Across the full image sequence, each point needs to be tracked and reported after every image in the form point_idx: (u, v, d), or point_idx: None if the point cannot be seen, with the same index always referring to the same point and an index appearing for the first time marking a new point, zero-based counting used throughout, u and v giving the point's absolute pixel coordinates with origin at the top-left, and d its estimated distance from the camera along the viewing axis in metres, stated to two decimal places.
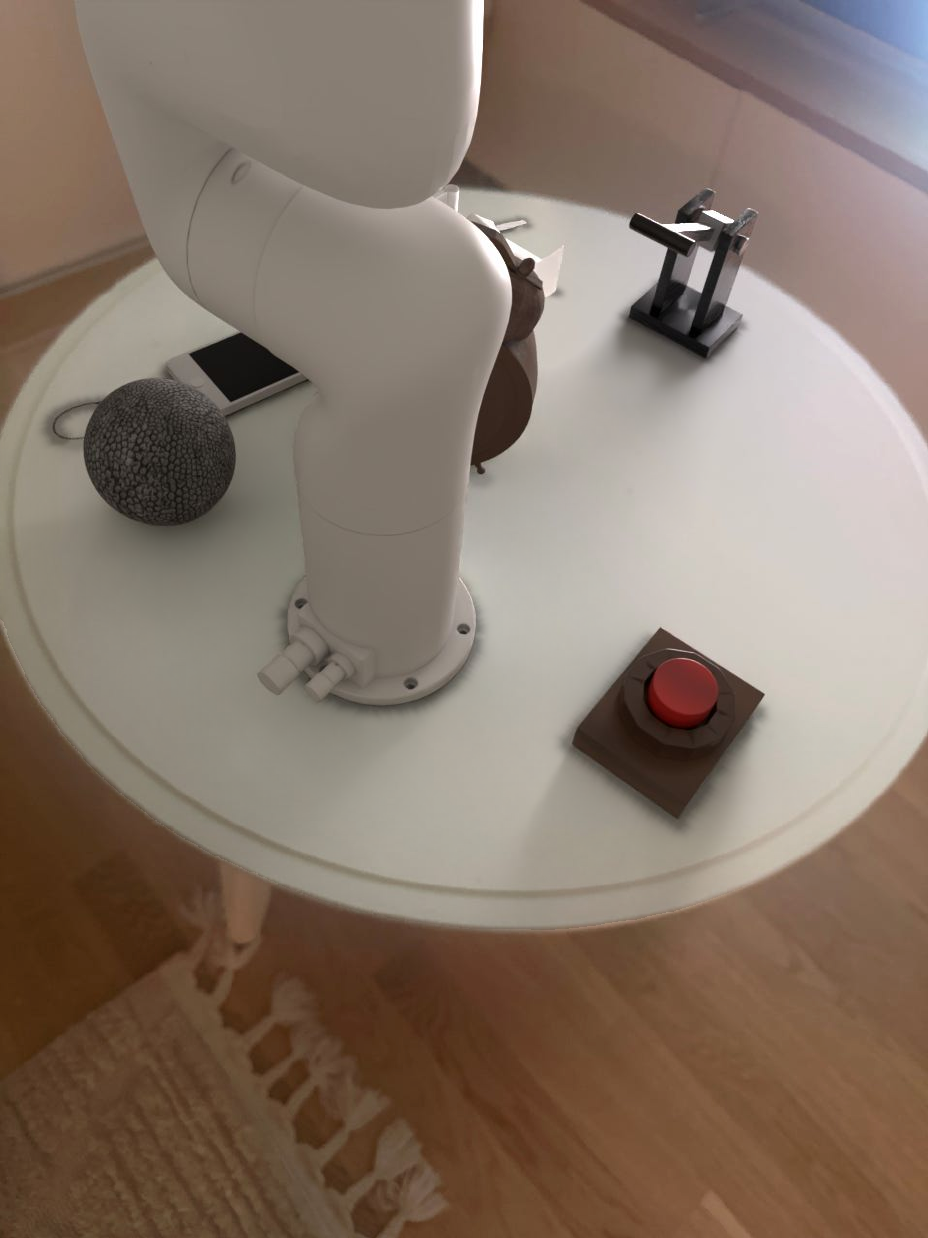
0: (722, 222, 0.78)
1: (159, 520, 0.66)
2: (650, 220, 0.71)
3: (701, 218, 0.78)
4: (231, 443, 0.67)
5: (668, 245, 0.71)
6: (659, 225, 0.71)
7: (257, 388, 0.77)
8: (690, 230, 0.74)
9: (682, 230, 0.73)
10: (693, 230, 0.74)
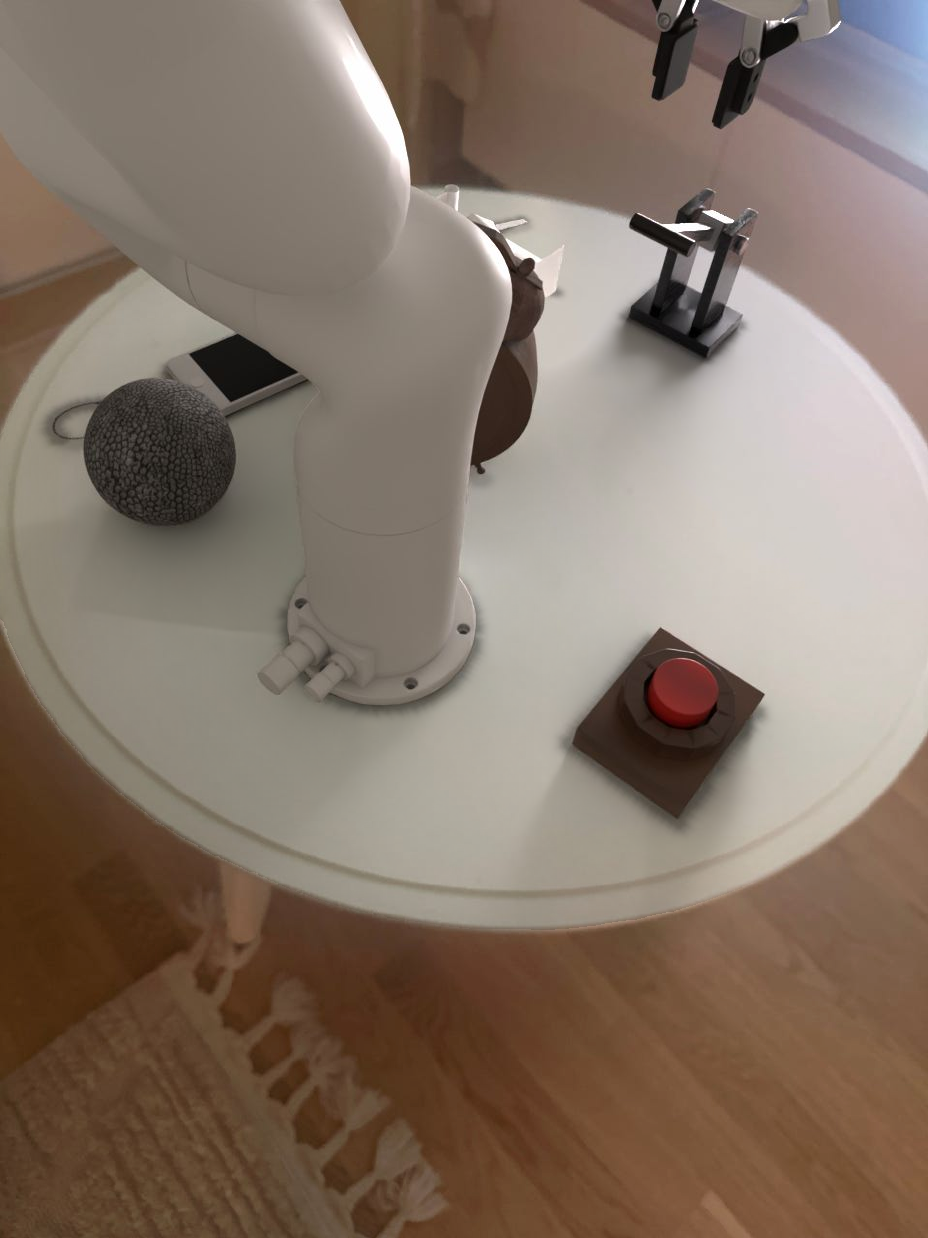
0: (722, 222, 0.78)
1: (159, 520, 0.66)
2: (650, 220, 0.71)
3: (701, 218, 0.78)
4: (231, 443, 0.67)
5: (668, 245, 0.71)
6: (659, 225, 0.71)
7: (257, 388, 0.77)
8: (690, 230, 0.74)
9: (682, 230, 0.73)
10: (693, 230, 0.74)
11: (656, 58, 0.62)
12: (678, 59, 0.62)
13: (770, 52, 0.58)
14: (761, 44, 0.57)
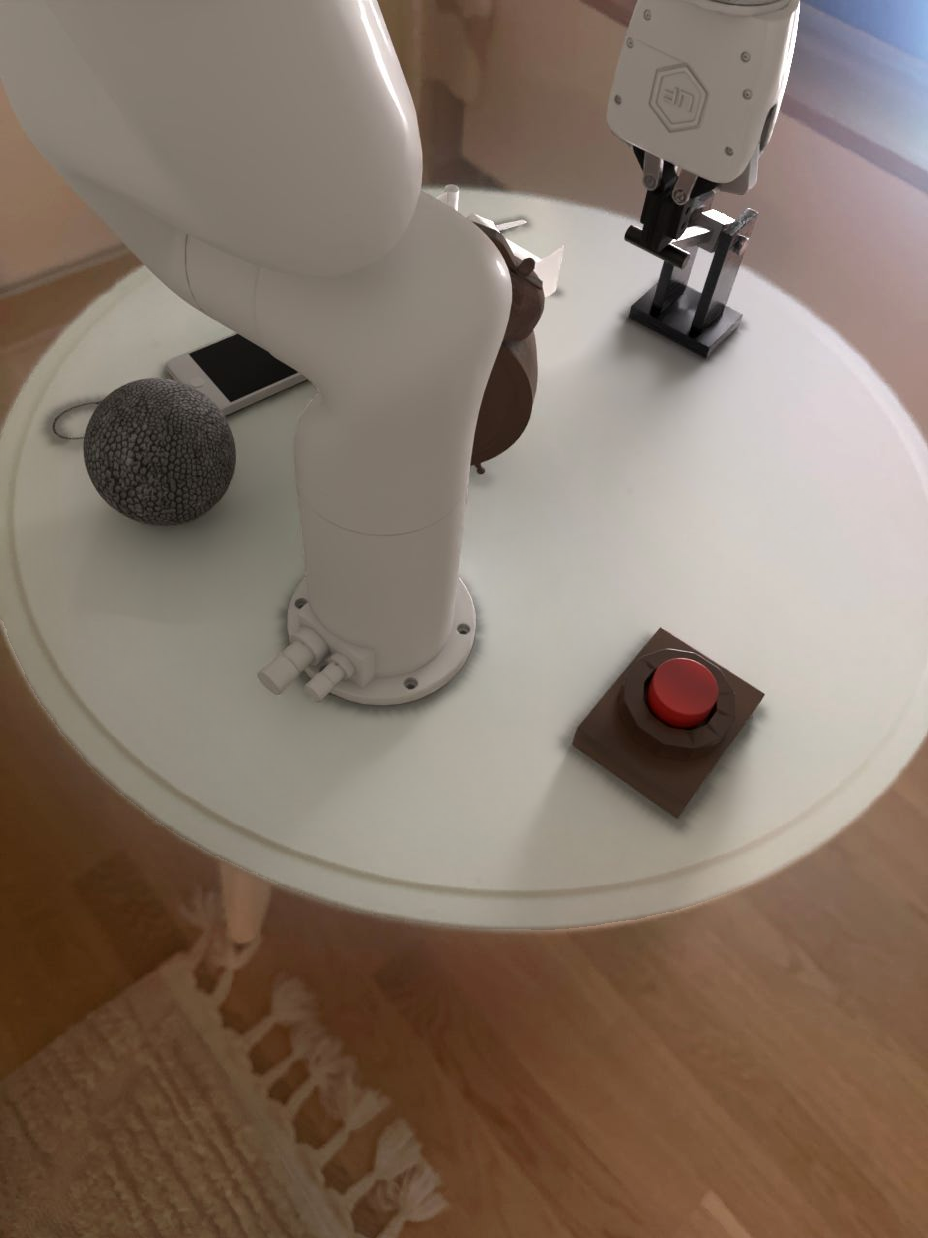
0: (721, 223, 0.78)
1: (159, 520, 0.66)
2: None
3: (700, 219, 0.78)
4: (231, 443, 0.67)
5: (663, 257, 0.71)
6: None
7: (257, 388, 0.77)
8: (687, 237, 0.74)
9: (678, 239, 0.73)
10: (690, 237, 0.75)
11: (643, 210, 0.69)
12: None
13: (697, 193, 0.66)
14: (691, 191, 0.66)
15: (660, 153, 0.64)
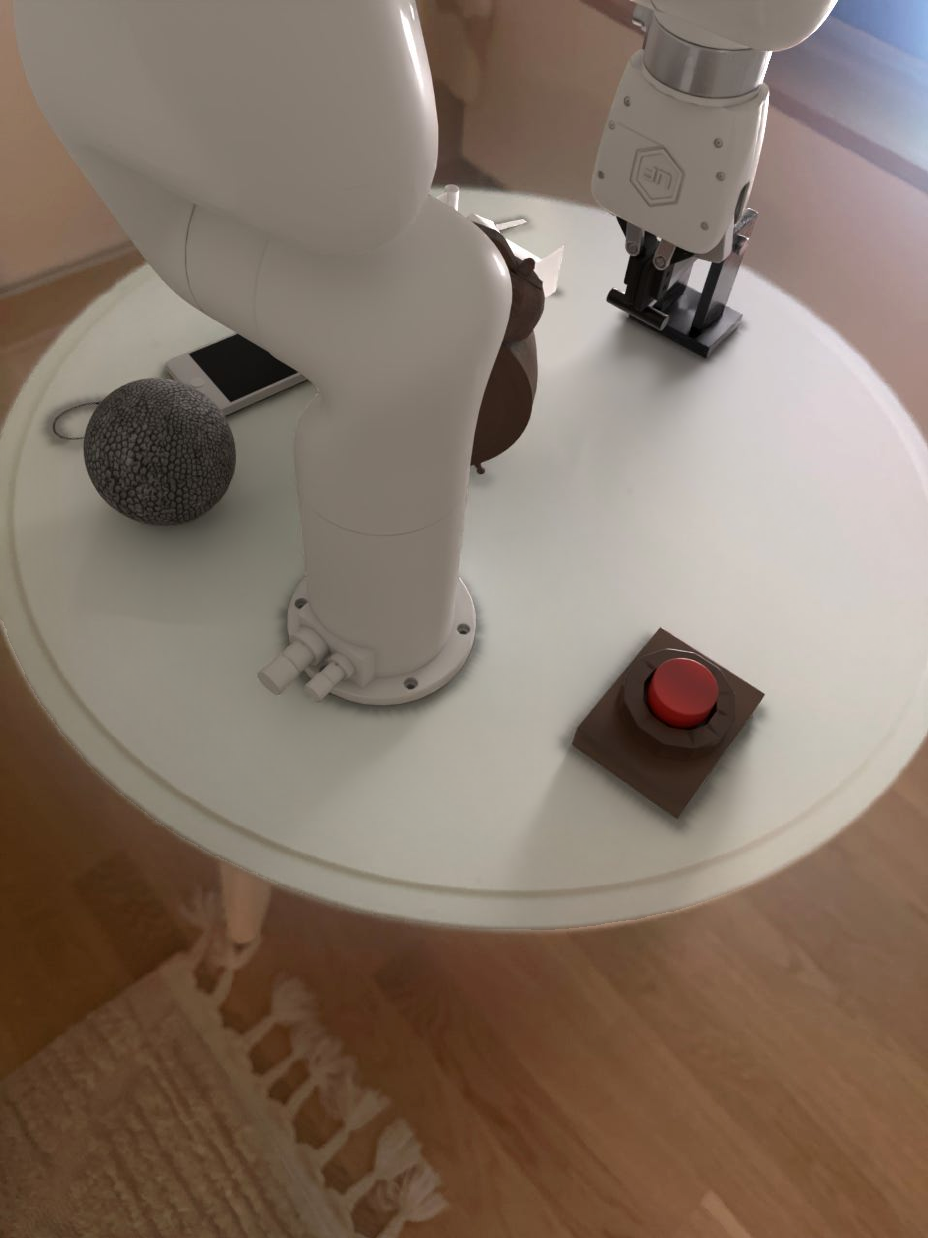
0: None
1: (159, 520, 0.66)
2: (623, 297, 0.75)
3: None
4: (231, 443, 0.67)
5: (643, 321, 0.75)
6: None
7: (257, 388, 0.77)
8: (672, 277, 0.77)
9: None
10: (677, 273, 0.77)
11: (626, 272, 0.73)
12: None
13: (677, 259, 0.70)
14: (671, 258, 0.70)
15: (641, 224, 0.68)
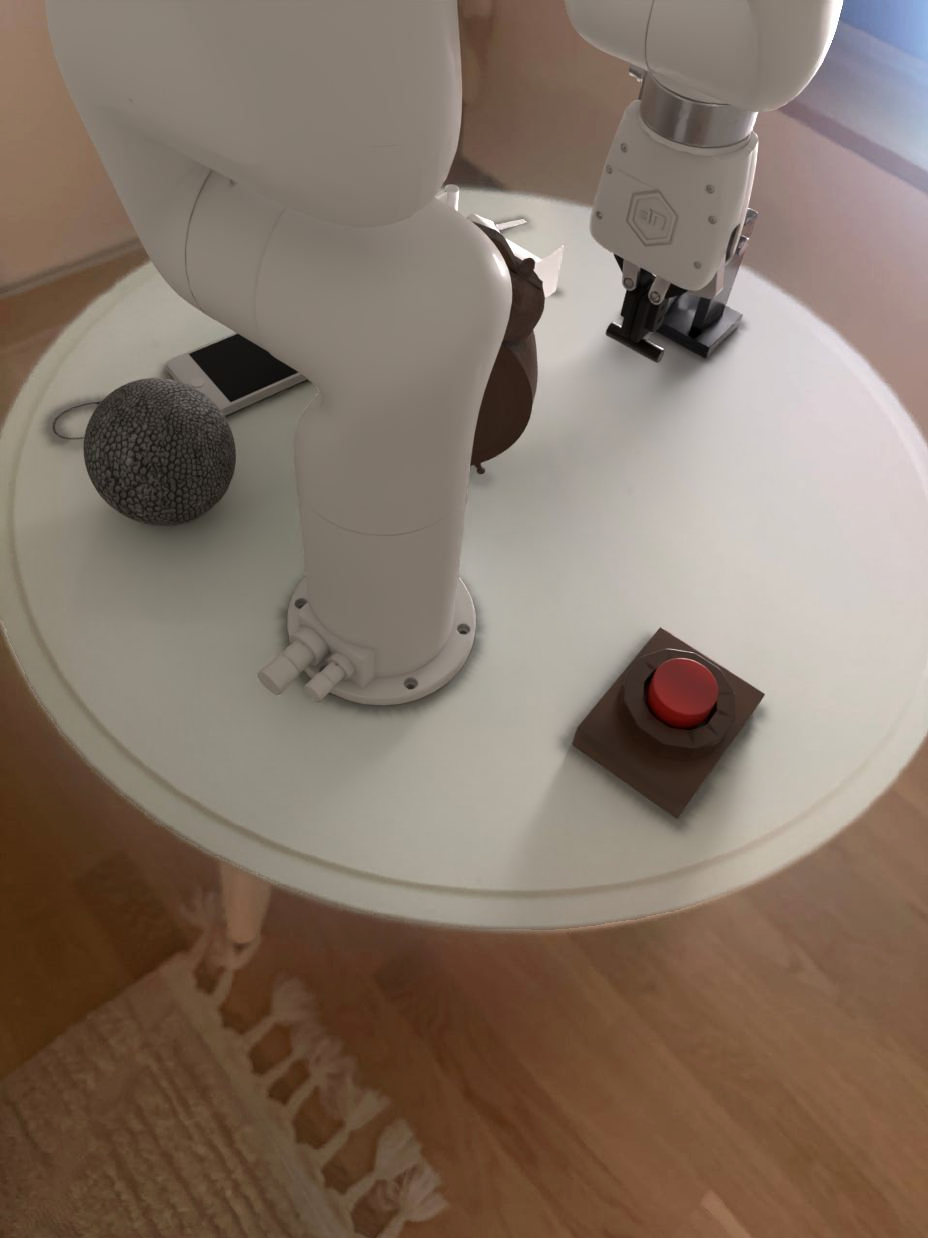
0: None
1: (159, 520, 0.66)
2: (620, 334, 0.79)
3: None
4: (231, 443, 0.67)
5: None
6: (628, 340, 0.79)
7: (257, 388, 0.77)
8: None
9: None
10: None
11: (623, 305, 0.77)
12: None
13: (671, 295, 0.73)
14: (665, 293, 0.73)
15: (637, 262, 0.71)
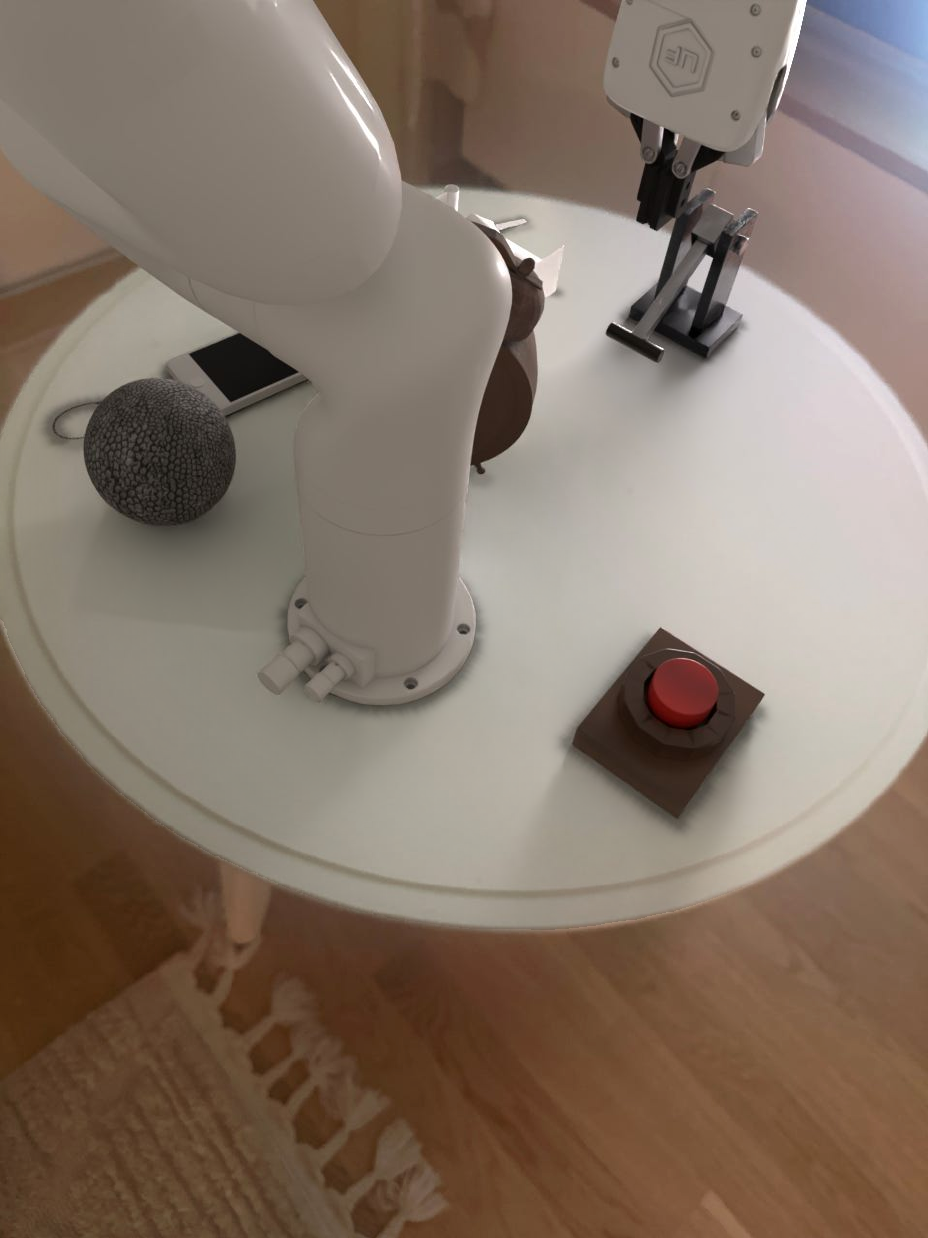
0: (711, 242, 0.78)
1: (159, 520, 0.66)
2: (620, 334, 0.79)
3: (693, 236, 0.79)
4: (231, 443, 0.67)
5: None
6: (628, 340, 0.79)
7: (257, 388, 0.77)
8: (668, 301, 0.79)
9: (656, 318, 0.79)
10: (673, 295, 0.79)
11: (640, 185, 0.65)
12: None
13: (699, 165, 0.62)
14: (693, 163, 0.62)
15: (660, 120, 0.59)
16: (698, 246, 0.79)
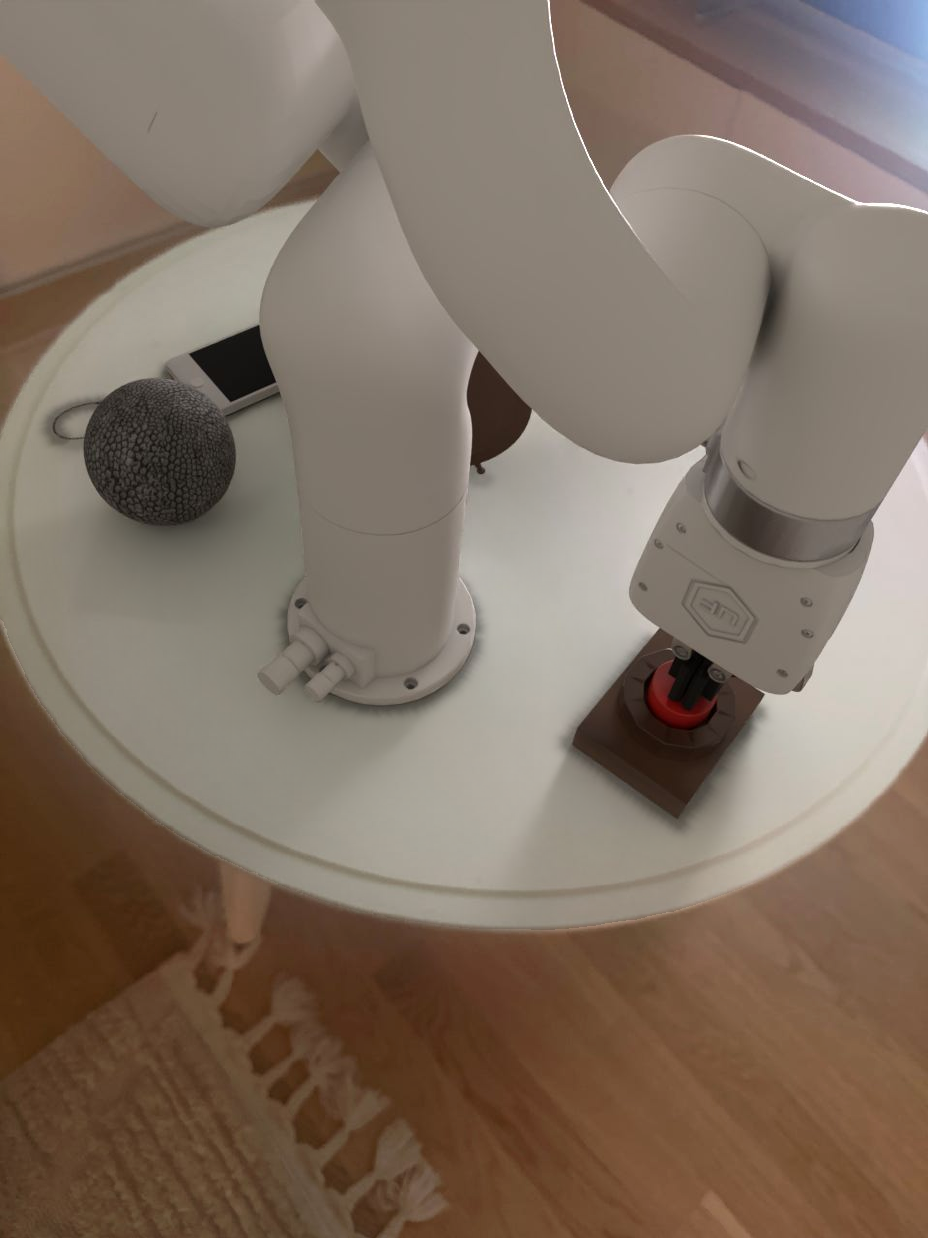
0: None
1: (159, 520, 0.66)
2: None
3: None
4: (231, 443, 0.67)
5: None
6: None
7: (257, 388, 0.77)
8: None
9: None
10: None
11: (672, 667, 0.58)
12: (696, 672, 0.58)
13: None
14: (732, 674, 0.54)
15: (695, 648, 0.52)
16: None
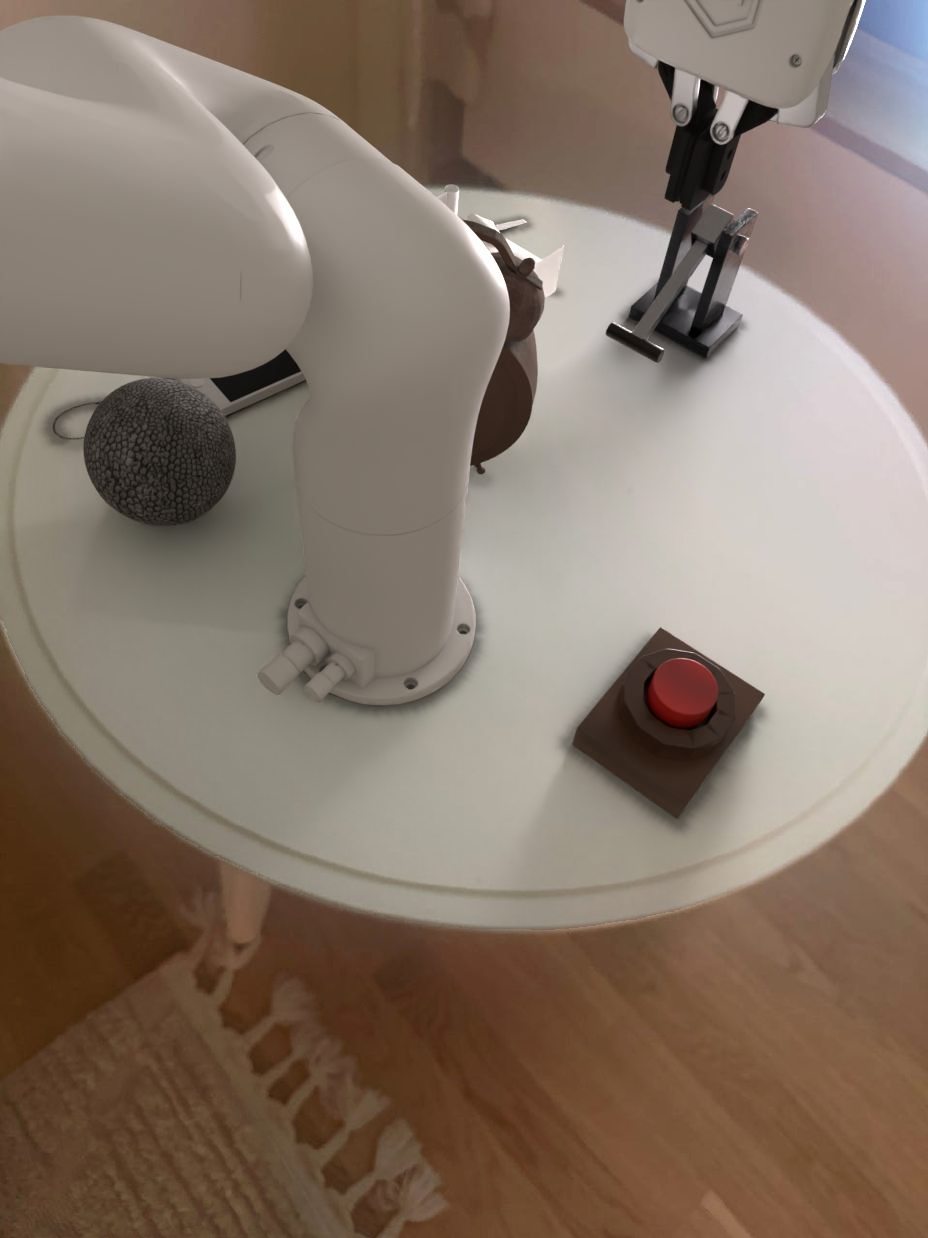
0: (711, 242, 0.78)
1: (159, 520, 0.66)
2: (620, 334, 0.79)
3: (693, 236, 0.79)
4: (231, 443, 0.67)
5: None
6: (628, 340, 0.79)
7: (257, 388, 0.77)
8: (668, 301, 0.79)
9: (656, 318, 0.79)
10: (673, 295, 0.79)
11: (670, 154, 0.52)
12: None
13: (745, 127, 0.49)
14: (737, 124, 0.49)
15: (697, 69, 0.47)
16: (698, 246, 0.79)
